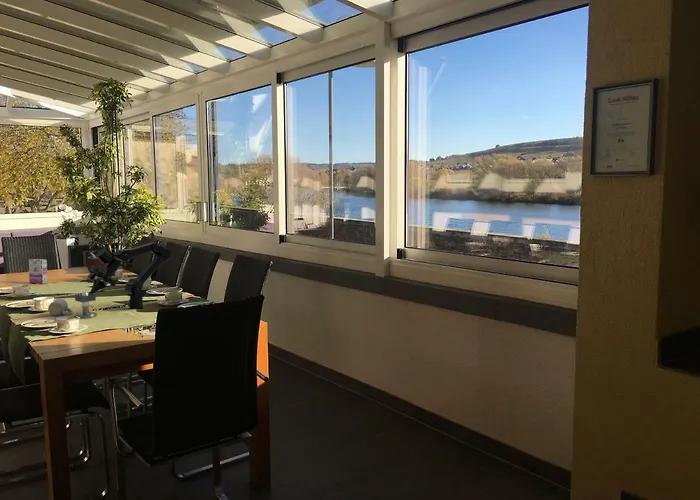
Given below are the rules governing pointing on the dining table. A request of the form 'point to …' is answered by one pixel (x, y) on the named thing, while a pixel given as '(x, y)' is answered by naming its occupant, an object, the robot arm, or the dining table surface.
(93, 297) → the ring
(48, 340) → the dining table surface
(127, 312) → the dining table surface
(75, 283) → the dining table surface
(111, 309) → the dining table surface
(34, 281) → the candy bar box
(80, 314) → the pipe stand
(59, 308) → the ceramic mug
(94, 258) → the mate gourd
